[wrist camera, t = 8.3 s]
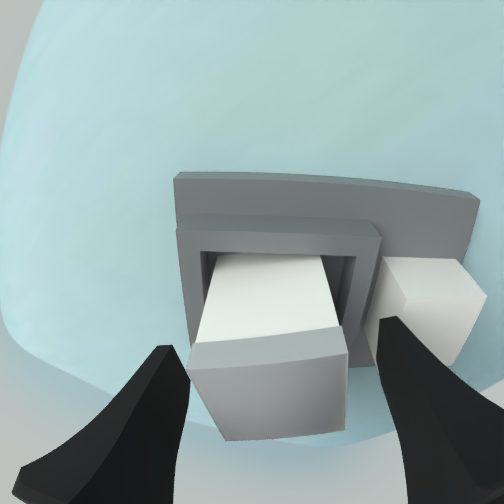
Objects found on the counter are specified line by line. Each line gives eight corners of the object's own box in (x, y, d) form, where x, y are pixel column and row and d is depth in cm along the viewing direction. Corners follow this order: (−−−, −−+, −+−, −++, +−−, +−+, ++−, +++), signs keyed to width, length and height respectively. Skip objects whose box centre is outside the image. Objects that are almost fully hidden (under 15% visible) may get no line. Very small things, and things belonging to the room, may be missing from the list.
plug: (317, 240, 12) (348, 352, 7) (323, 318, 14) (344, 430, 9) (216, 255, 13) (185, 369, 8) (237, 329, 15) (225, 440, 10)
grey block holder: (469, 192, 12) (519, 229, 8) (415, 350, 17) (435, 401, 13) (179, 172, 12) (146, 207, 9) (197, 350, 17) (184, 408, 14)
